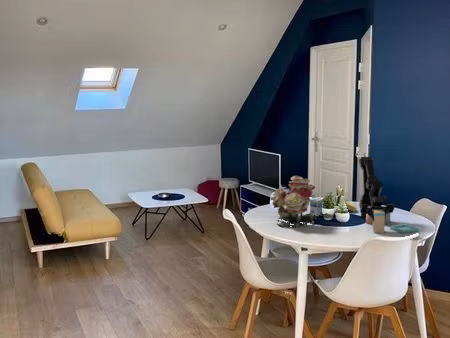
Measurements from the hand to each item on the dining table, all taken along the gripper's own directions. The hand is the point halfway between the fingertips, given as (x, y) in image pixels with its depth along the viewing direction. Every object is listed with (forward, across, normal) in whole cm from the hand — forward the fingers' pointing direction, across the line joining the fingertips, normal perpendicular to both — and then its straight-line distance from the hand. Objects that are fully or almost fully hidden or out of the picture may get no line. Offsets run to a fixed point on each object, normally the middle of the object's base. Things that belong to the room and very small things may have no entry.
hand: (379, 220), depth 288 cm
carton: (+4, 0, +6) cm, 7 cm away
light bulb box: (-27, -30, +37) cm, 54 cm away
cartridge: (-9, -1, +19) cm, 21 cm away
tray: (+2, +15, +7) cm, 17 cm away
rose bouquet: (-10, -47, +20) cm, 52 cm away
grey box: (-10, +7, +19) cm, 23 cm away
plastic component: (-37, -10, +47) cm, 61 cm away
